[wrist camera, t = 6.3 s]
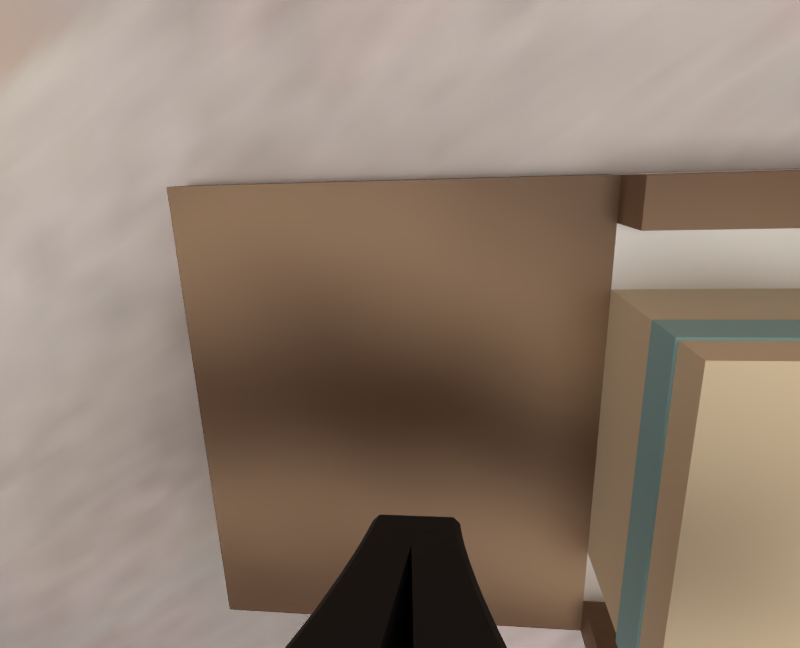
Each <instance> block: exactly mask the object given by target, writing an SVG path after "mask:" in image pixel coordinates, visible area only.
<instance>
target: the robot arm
mask: <svg viewBox="0 0 800 648" xmlns="http://www.w3.org/2000/svg"><path fill="white" fill-rule="evenodd" d="M285 648H507V647H506V645H505V643H504V641H503V639H502V637H501V635H500V633H499V631H498V628H497V626H496V624H495V622H494V619H493V617H492V615H491V613H490V611H489V608H488V606H487V604H486V602H485V599H484V597H483V595H482V592H481V590H480V587H479V585H478V582H477V580H476V577H475V575H474V572H473V569H472V566H471V564H470V561H469V558H468V555H467V551H466V548H465V545H464V541H463V537H462V532H461V525H460V523H459V522H458V521H457V520H456V519H455V518H454V517H435V516H407V515H379V516H377V517H376V518H375V519H374V520H373V521H372V523H371V525H370V527H369V529H368V531H367V532H366V534H365V536H364V538H363V539H362V541H361V543H360V544H359V546H358V548H357V549H356V551H355V552H354V554H353V555H352V557H351V559H350V560H349V562H348V563H347V565H346V566H345V568H344V569H343V571H342V572H341V574H340V575H339V577H338V578H337V579H336V581H335V582H334V584H333V585H332V587H331V588H330V589H329V591H328V592H327V594H326V595H325V596H324V598H323V599H322V601H321V602H320V603H319V605H318V606H317V608H316V609H315V610H314V612H313V613H312V614H311V616H310V617H309V618H308V620H307V621H306V622H305V624H304V625H303V626H302V627H301V629H300V630H299V631H298V632H297V634H296V635H295V636H294V637H293V639H292V640H291V641H290V642H289V644H288V645H287V646H286V647H285Z"/></svg>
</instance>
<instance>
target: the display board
mask: <svg viewBox="0 0 800 648" xmlns="http://www.w3.org/2000/svg"><path fill="white" fill-rule="evenodd" d="M167 193H168V199H169V206H170V213H171V219H172V226H173V233H174V239H175V246H176V253H177V259H178V266H179V273H180V279H181V286H182V293H183V299H184V306H185V313H186V319H187V326H188V333H189V339H190V346H191V353H192V359H193V366H194V373H195V379H196V386H197V393H198V399H199V406H200V413H201V419H202V426H203V433H204V439H205V446H206V453H207V459H208V466H209V473H210V480H211V486H212V493H213V500H214V506H215V513H216V520H217V526H218V533H219V540H220V546H221V553H222V560H223V566H224V573H225V580H226V586H227V593H228V600H229V606H230V609H234V610H251V611H268V612H284V613H301V614H312V613H313V612H314V610H315V609H316V608H317V606H318V605H319V603H320V602H321V601H322V599H323V598H324V596H325V595H326V594H327V592H328V591H329V589H330V588H331V587H332V585H333V584H334V582H335V581H336V579H337V578H338V577H339V575H340V574H341V572H342V571H343V569H344V568H345V566H346V565H347V563H348V562H349V560H350V559H351V557H352V555H353V554H354V552H355V551H356V549H357V548H358V546H359V544H360V543H361V541H362V539H363V538H364V536H365V534H366V532H367V531H368V529H369V527H370V525H371V523H372V521H373V520H374V519H375V518H376V517H377V516H379V515H407V516H435V517H454V518H455V519H456V520H457V521H458V522H459V523H460V525H461V532H462V537H463V541H464V545H465V548H466V551H467V555H468V558H469V561H470V564H471V566H472V569H473V572H474V575H475V577H476V580H477V582H478V585H479V587H480V590H481V592H482V595H483V597H484V599H485V602H486V604H487V606H488V608H489V611H490V613H491V615H492V617H493V619H494V622H495V624H496V625H500V626H516V627H533V628H549V629H566V630H581V633H582V637H583V640H584V644H585V648H618V647H617V644H616V632H615V629H614V626H613V623H612V620H611V618H610V615H609V612H608V609H607V606H606V603H605V601H604V598H603V595H602V592H601V589H600V586H599V584H598V581H597V578H596V575H595V572H594V569H593V566H592V564H591V561H590V558H589V555H588V544H589V532H590V521H591V510H592V499H593V487H594V476H595V465H596V454H597V442H598V431H599V420H600V408H601V397H602V386H603V375H604V363H605V352H606V341H607V330H608V318H609V307H610V296H611V290H620V289H793V288H800V169H778V170H742V171H706V172H670V173H633V174H597V175H561V176H525V177H489V178H452V179H416V180H380V181H344V182H307V183H271V184H235V185H199V186H175V187H167Z"/></svg>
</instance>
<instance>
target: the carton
mask: <svg viewBox="0 0 800 648" xmlns="http://www.w3.org/2000/svg"><path fill="white" fill-rule="evenodd" d="M588 555H589V558H590V561H591V564H592V566H593V569H594V572H595V575H596V578H597V581H598V584H599V586H600V589H601V592H602V595H603V598H604V601H605V603H606V606H607V609H608V612H609V615H610V618H611V620H612V623H613V626H614V629H615V632H616V644H617V647H618V648H800V288H793V289H620V290H611V296H610V307H609V318H608V330H607V341H606V352H605V363H604V375H603V386H602V397H601V408H600V420H599V431H598V442H597V454H596V465H595V476H594V487H593V499H592V510H591V521H590V532H589V544H588Z"/></svg>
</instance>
